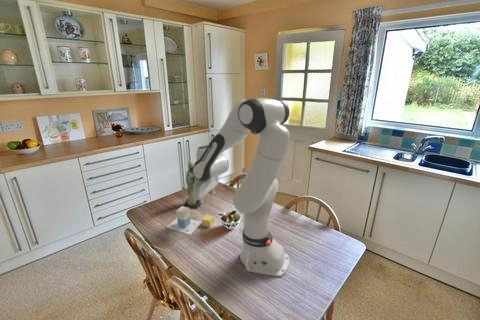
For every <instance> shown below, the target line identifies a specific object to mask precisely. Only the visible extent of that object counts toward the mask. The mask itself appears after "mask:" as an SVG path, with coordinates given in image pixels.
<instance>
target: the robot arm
mask: <svg viewBox="0 0 480 320" xmlns="http://www.w3.org/2000/svg"><path fill="white" fill-rule="evenodd" d="M289 117H290V107H289V105H288V104H287V103H286V102H285V101H284V100H281V99H279V98H267V97H259V98H250V99H241V100H239V101H237V103H236V104H235V105H234V106H233V108H232V109H231V111H230V112H229V114H228V116H227V118H226V119H225V121H224V123H223V125H222V127H221V128H220V129H219V131H218V132H217V133H216V134H215V135H214V137H213V138H212V139H211V141H210V142H209V143H208V145H202V146H199V147H197V148H196V159H195V160H196V161H195V162H194V163H193V164H194V166H193V175H194V176H195V178H196V179H198V181H197V182H196V183H195V185H194V187H193V198H195V199H197V200H200V203H201V205H202V204H204V203H205V199H204V196H206V195H207V194H208V195H209V196H210V197H211V196H213V195H214V190H215V187H217V186H218V184H219V176H220V175H222V174H224V173H226V172H228V170H229V165H230V164H229V160H228V158H227V157H226V156H225V155H224V154H223V153H224V152H225V151H227V150H229V149H230V148H233V147H235V146H236V145H239V144H241V143H243V141H245V139H246V138H247V137H248V136H249V134H250V132H251V134H253V135H258V134H259V140H258V141H259V142H258V143H257V146H256V150H255V154H254V157H253V158H252V159H253V160H252V163H251V164H250V167H249V169H248V171H247V173H246V174H245V177H244V178H243V180H242V181H241V184H240V186H238V187H239V188H238V189H237V190H236V191H235V193H234V194H233V197H232V204H233V206H234V208H235V209H236V211H238V212H239V213H241V214H243V230H242V234H241V235H242V247H241V248H242V249H241V252H240V255H239V258H240V259H239V260H240V261H241V263H242V264H243V265H244V268H245V271H246V272H250V273H255V274H260V275H266V276H271V277H273V276H274V277H278V278H279V277H282V276H284V275H285V274H286V273H287V271H288V269H289V266H290V257H289V254H288V253H286V252H285V249H284V246H283V245H281V244H280V243H279V242H277V240H275V239H274V232H272V233H271V232H270V217H271V212H272V208H273V204H274V201H275V196H276V195H277V191H278V190H279V181H278V179H277V178H278V176H279V174H280V170H281V168H282V165H283V163H284V160H285V158H286V154H287V151H288V149H289V144H290V139H291V134H290V131H289V130H288V128H287V127H285V126H284V124H285V123H286V122H287V121H288V120H289Z"/></svg>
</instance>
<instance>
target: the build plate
mask: <svg viewBox="0 0 480 320" xmlns="http://www.w3.org/2000/svg"><path fill="white" fill-rule="evenodd" d="M190 220H191V224H190V225H189V226H187V227H186V228H183V227H179V226H178V221H177V218H175V219H174V220H173V221H172V222H170V223H169V224H168V225H166V228H167V229H170V230H172V231H177V232H180V233H184V234H187V235H191V234H193V232H194V231H196V229H198V228H199V227H200V226H201V225H202V221H200V220H195V219H192V218H190Z"/></svg>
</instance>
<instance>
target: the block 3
mask: <svg viewBox="0 0 480 320" xmlns="http://www.w3.org/2000/svg"><path fill="white" fill-rule="evenodd" d="M201 222H202V223H201V225H202V226H203V227H206V228H211V227H213V225H214V224H215V223H216V221H215V216H213V215H209V214H206V215H204V216H203V218H202V219H201Z"/></svg>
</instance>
